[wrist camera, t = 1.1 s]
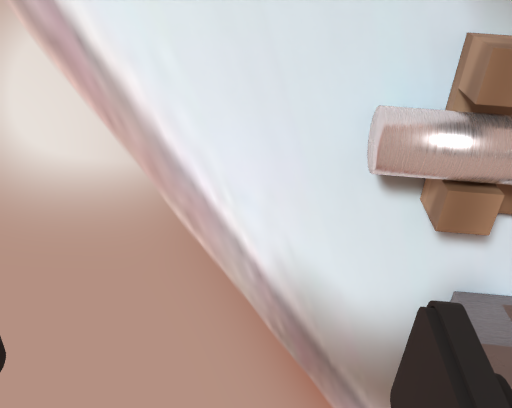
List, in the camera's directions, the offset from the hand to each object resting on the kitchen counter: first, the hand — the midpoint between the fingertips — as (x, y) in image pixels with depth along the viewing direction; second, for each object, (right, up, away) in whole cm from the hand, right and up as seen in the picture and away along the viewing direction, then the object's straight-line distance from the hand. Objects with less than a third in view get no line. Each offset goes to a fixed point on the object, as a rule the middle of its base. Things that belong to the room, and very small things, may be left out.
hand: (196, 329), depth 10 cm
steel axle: (+11, +5, +10) cm, 16 cm away
